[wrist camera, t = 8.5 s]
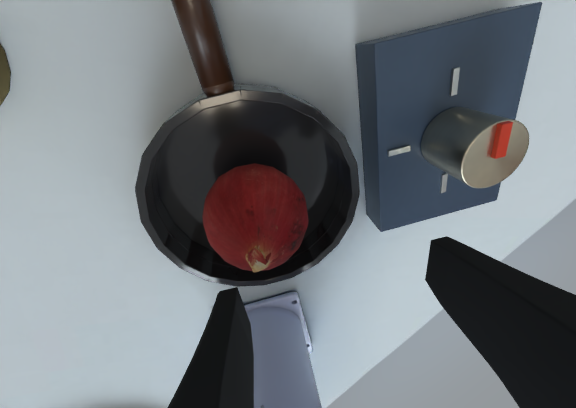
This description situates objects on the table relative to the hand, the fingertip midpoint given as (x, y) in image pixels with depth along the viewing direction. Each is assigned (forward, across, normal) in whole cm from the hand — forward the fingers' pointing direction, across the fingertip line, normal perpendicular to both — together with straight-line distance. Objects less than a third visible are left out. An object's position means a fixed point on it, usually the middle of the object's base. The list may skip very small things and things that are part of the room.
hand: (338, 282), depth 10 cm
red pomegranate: (+10, +3, 0) cm, 11 cm away
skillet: (+10, +3, 0) cm, 11 cm away
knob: (+8, -10, -1) cm, 12 cm away
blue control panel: (+10, -10, -1) cm, 14 cm away
